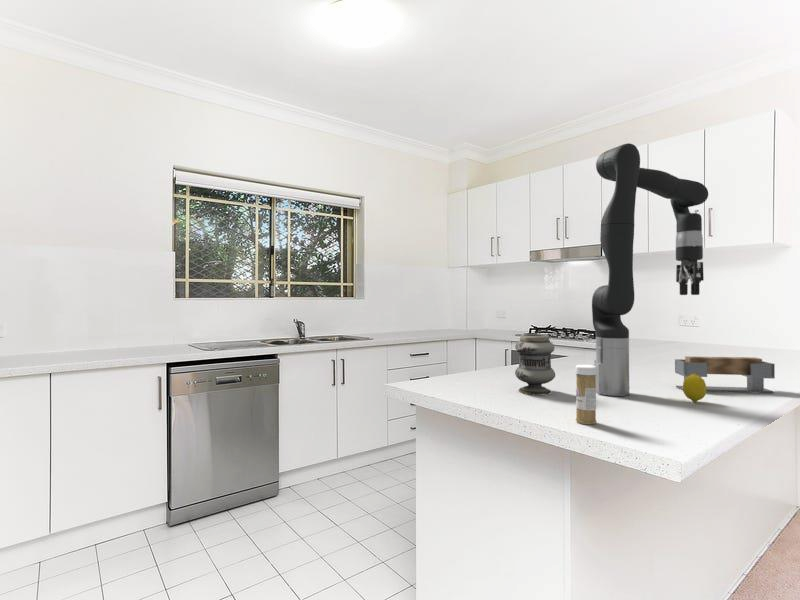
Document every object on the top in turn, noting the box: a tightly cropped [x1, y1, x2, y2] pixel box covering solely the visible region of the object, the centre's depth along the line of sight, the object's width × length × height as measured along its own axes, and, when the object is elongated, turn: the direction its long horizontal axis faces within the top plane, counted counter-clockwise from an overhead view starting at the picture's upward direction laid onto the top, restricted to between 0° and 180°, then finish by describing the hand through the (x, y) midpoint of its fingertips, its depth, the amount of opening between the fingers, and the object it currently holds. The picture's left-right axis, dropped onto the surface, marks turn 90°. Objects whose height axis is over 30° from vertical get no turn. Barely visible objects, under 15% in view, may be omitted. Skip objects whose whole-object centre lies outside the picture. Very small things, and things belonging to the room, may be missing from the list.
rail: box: [684, 356, 763, 376], centre depth 140 cm, size 20×4×5 cm, turn 79°
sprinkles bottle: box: [575, 364, 597, 425], centre depth 105 cm, size 5×5×14 cm
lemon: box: [682, 374, 707, 403], centre depth 124 cm, size 6×6×8 cm
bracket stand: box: [674, 358, 776, 394], centre depth 140 cm, size 25×7×9 cm, turn 79°
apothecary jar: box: [514, 333, 556, 396], centre depth 140 cm, size 12×12×18 cm
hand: (689, 294), depth 147 cm, fingers open, 8 cm apart
